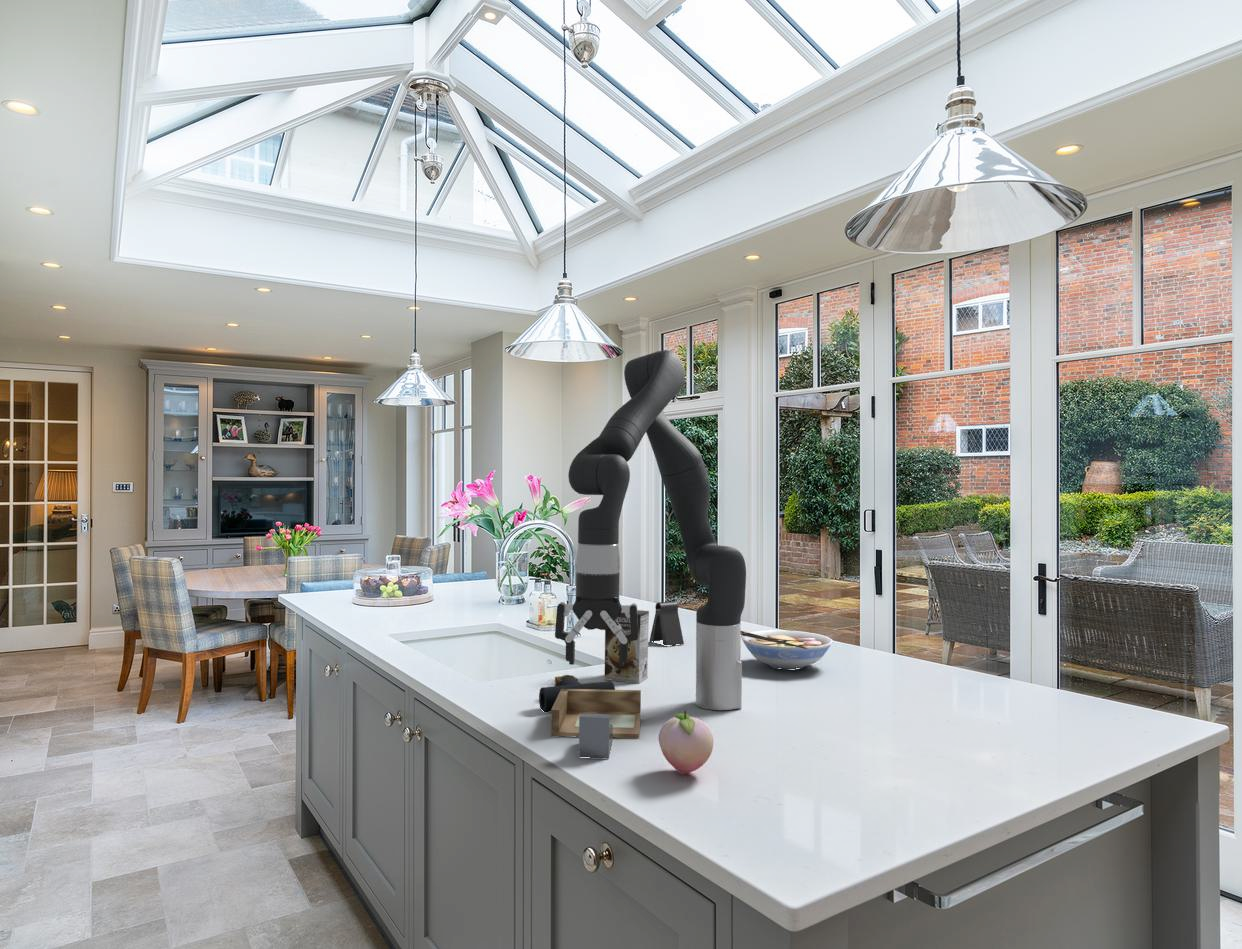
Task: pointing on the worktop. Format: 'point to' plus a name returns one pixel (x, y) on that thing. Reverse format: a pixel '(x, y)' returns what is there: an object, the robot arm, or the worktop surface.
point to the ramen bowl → (786, 647)
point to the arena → (597, 710)
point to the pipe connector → (567, 682)
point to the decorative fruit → (686, 742)
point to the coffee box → (637, 651)
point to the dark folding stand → (667, 624)
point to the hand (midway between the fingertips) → (596, 664)
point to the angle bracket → (595, 735)
